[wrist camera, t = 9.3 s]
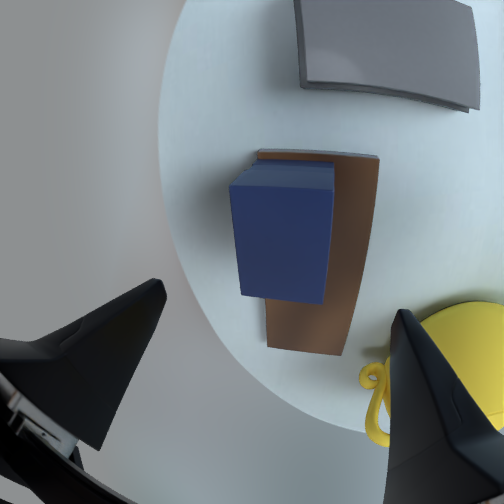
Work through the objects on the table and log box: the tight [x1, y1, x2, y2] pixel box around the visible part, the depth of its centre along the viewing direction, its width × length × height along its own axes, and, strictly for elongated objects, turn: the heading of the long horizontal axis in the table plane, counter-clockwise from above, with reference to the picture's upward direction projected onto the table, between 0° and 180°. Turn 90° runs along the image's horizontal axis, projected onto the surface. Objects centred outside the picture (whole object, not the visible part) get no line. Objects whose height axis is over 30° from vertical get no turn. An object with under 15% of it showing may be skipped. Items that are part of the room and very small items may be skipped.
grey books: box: [294, 0, 480, 113], centre depth 10 cm, size 11×8×3 cm
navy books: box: [249, 159, 335, 177], centre depth 18 cm, size 7×5×3 cm
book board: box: [257, 149, 380, 356], centre depth 22 cm, size 8×20×1 cm, turn 4°
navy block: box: [229, 170, 334, 305], centre depth 15 cm, size 7×5×3 cm
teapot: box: [359, 301, 504, 447], centre depth 17 cm, size 25×18×14 cm
